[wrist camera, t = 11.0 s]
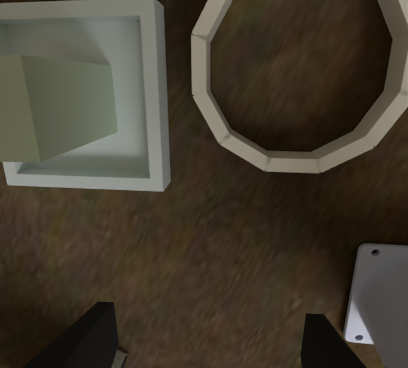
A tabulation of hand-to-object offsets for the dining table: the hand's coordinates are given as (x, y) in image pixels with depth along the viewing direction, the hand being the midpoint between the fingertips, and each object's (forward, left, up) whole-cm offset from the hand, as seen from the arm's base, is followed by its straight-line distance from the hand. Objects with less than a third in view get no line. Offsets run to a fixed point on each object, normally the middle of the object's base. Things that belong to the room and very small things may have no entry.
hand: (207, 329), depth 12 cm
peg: (+9, -8, -10) cm, 15 cm away
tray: (+9, -8, -10) cm, 16 cm away
